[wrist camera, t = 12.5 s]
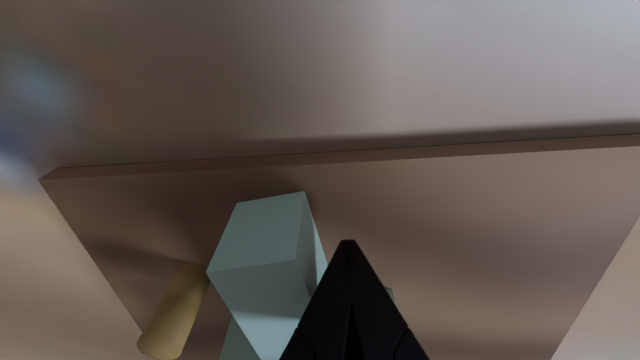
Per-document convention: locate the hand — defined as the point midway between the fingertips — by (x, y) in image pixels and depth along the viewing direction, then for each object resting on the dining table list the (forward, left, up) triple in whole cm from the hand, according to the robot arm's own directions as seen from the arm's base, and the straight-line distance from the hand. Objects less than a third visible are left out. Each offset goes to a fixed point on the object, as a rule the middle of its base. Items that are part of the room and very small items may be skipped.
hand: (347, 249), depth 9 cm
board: (-8, 0, -2) cm, 8 cm away
